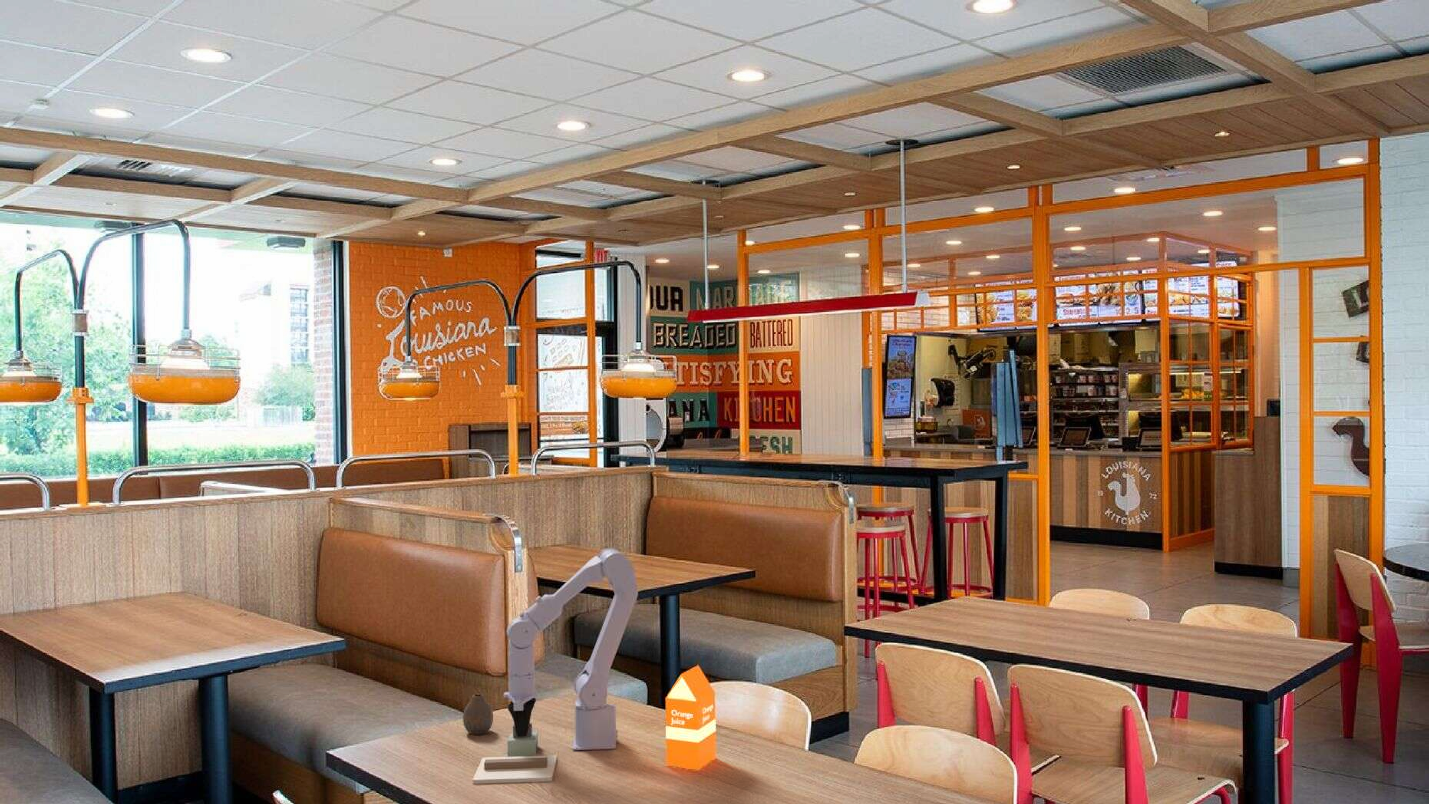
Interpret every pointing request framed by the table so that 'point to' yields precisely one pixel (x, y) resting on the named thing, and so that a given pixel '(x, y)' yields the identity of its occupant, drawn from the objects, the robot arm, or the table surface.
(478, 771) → the board
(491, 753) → the table surface
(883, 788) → the table surface
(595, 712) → the robot arm
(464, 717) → the vase
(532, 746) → the sage slotted block
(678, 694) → the orange juice
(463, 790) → the table surface
